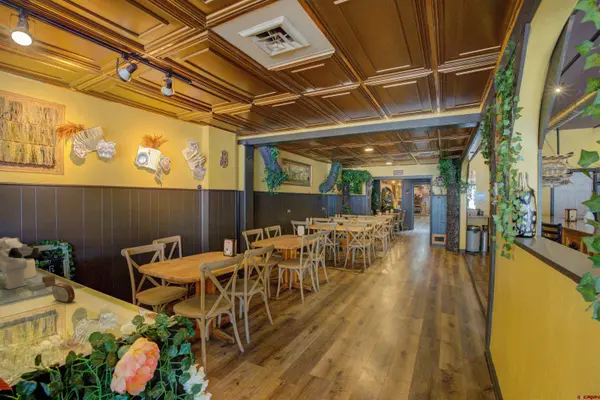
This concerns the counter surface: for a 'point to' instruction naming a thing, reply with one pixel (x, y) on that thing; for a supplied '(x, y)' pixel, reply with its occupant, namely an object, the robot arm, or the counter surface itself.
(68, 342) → the counter surface
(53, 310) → the counter surface
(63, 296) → the tin
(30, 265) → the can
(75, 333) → the counter surface
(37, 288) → the slate block
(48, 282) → the walnut block
